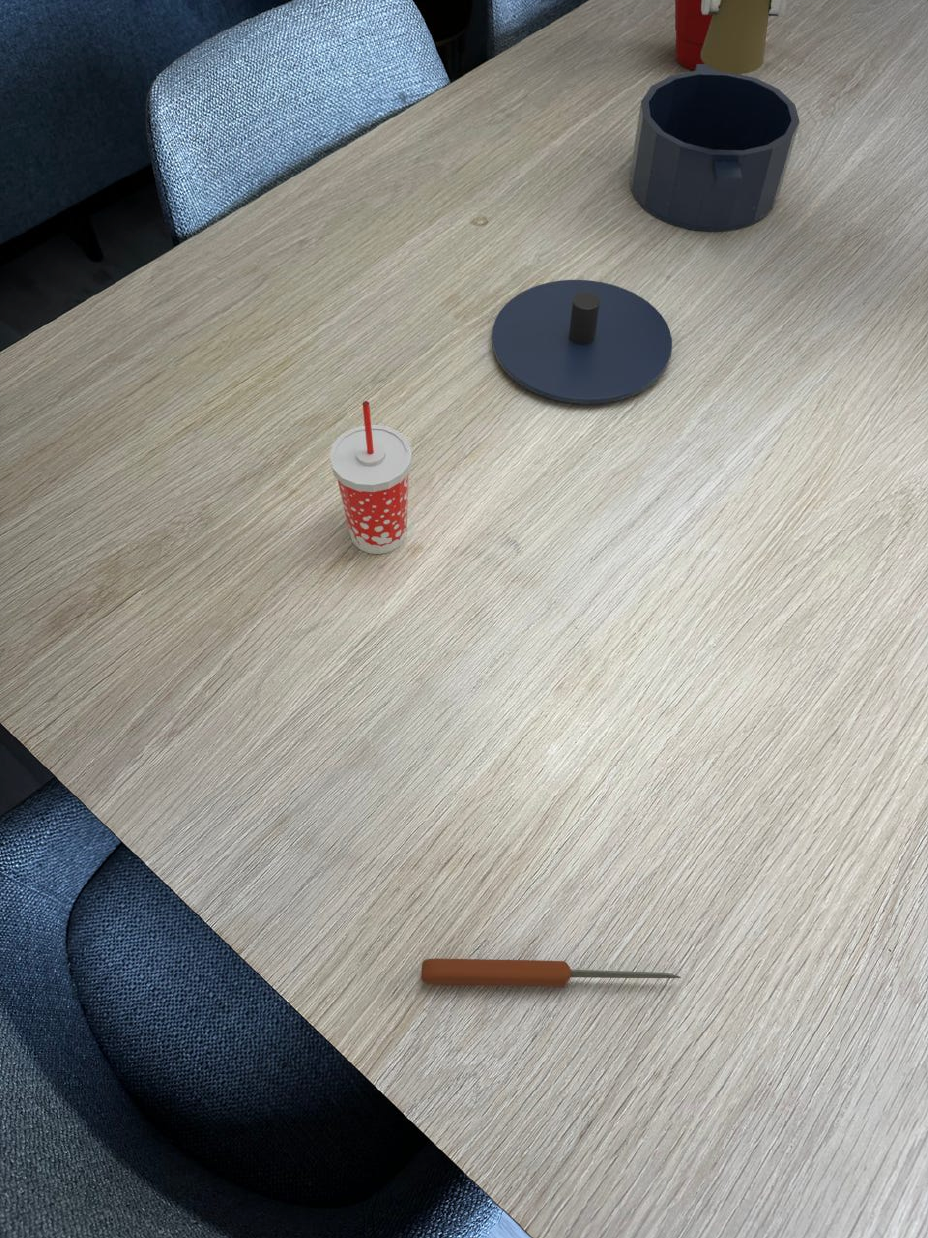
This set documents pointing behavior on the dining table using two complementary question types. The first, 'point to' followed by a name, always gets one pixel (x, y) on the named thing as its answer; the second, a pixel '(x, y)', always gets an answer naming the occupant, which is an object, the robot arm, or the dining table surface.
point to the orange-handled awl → (514, 973)
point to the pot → (712, 149)
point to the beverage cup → (373, 483)
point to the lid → (581, 341)
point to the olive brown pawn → (737, 36)
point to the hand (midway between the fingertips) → (741, 12)
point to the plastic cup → (690, 32)
